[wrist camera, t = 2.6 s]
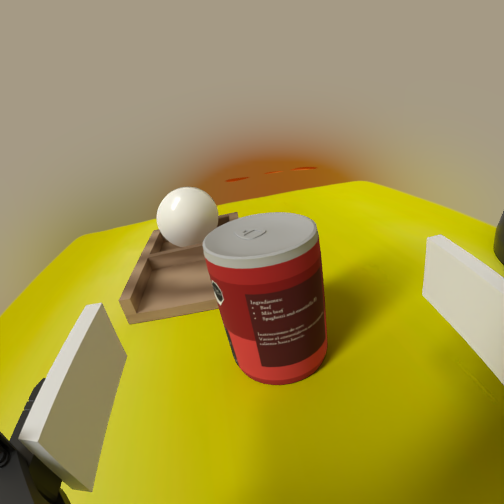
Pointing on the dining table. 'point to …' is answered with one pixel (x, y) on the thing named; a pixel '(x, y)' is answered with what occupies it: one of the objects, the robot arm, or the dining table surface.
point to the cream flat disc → (187, 216)
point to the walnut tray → (169, 280)
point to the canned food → (270, 294)
